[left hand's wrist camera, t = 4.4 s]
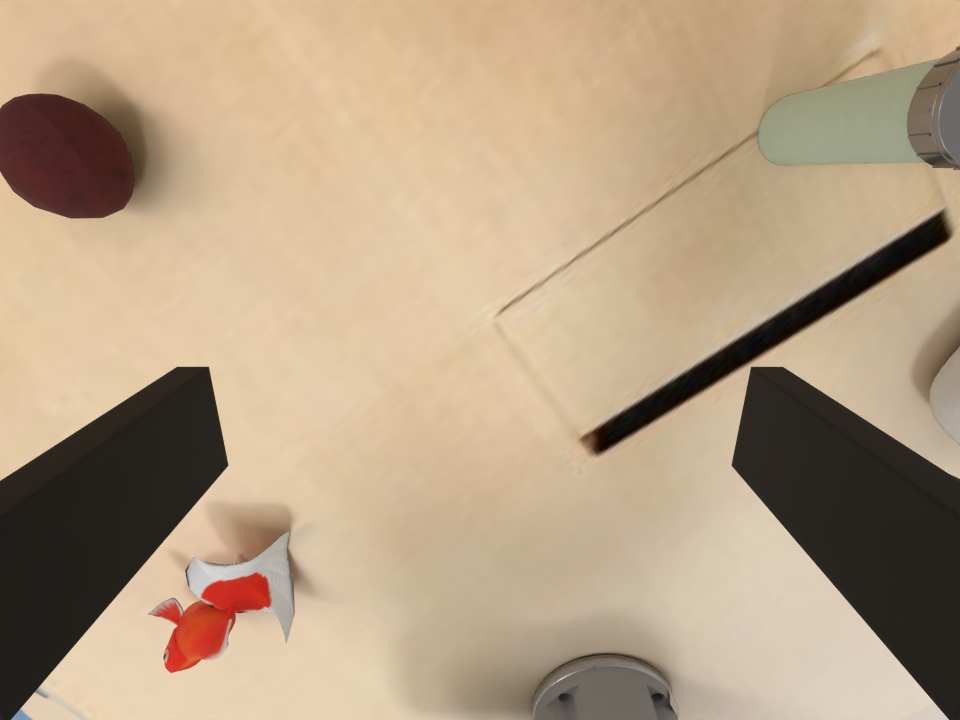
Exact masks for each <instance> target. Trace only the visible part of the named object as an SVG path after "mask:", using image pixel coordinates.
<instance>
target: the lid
mask: <svg viewBox="0 0 960 720" xmlns="http://www.w3.org/2000/svg"><path fill="white" fill-rule="evenodd" d="M907 115H908V117H907V133H908V136H907V137H908V138H909V141H910V144H911V146H912V148H913V150H914V151H915V153H916V154H917V155H916V156H917V157H920V158H921V159H922V160H923V161H925V162H927V163H928V164H930V165H933V166H932V167H933V168H954V169H953V170H960V46H958V47H956V50H954V51H952V52H951V53H949V54H948V55H946V56H945V57H943V58H942V59H941V60H940V61H939V62H937V63H935V64H934V65H933V67H932V68H931V69H930V70H929V72H928V73H927V74H926V75H925V77H924V78H923V79H922V81H921V82H920V84H919V86H917V88H916V91H915V93H914V96H913V98H912V100H911V103H910V107H909V111H908V113H907Z"/></svg>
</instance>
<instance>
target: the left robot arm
mask: <svg viewBox="0 0 960 720" xmlns="http://www.w3.org/2000/svg"><path fill="white" fill-rule="evenodd" d="M227 467H228V461H227V456H226V451H225V446H224V441H223V436H222V431H221V426H220V421H219V416H218V411H217V406H216V401H215V396H214V391H213V386H212V381H211V376H210V371H209V367H176V368H175V369H173V370H172V371H170V372H168V373H167V374H165V375H164V376H162V377H161V378H159V379H158V380H156V381H155V382H153V383H151V384H150V385H148V386H147V387H145V388H144V389H142V390H141V391H139V392H137V393H136V394H134V395H133V396H131V397H130V398H128V399H127V400H125V401H124V402H122V403H120V404H119V405H117V406H116V407H114V408H113V409H111V410H110V411H108V412H106V413H105V414H103V415H102V416H100V417H99V418H97V419H96V420H94V421H92V422H91V423H89V424H88V425H86V426H85V427H83V428H82V429H80V430H79V431H77V432H75V433H74V434H72V435H71V436H69V437H68V438H66V439H65V440H63V441H61V442H60V443H58V444H57V445H55V446H54V447H52V448H51V449H49V450H48V451H46V452H44V453H43V454H41V455H40V456H38V457H37V458H35V459H34V460H32V461H30V462H29V463H27V464H26V465H24V466H23V467H21V468H20V469H18V470H17V471H15V472H13V473H12V474H10V475H9V476H7V477H6V478H4V479H3V480H1V481H0V720H11V719H12V718H13V717H14V715H15V714H16V713H17V712H18V711H19V710H20V708H21V707H22V706H23V705H24V704H25V703H26V701H27V700H28V699H29V698H30V697H31V696H32V694H33V693H34V692H35V691H36V690H37V689H38V687H39V686H40V685H41V684H42V683H43V682H44V680H45V679H46V678H47V677H48V676H49V675H50V673H51V672H52V671H53V670H54V669H55V668H56V666H57V665H58V664H59V663H60V662H61V661H62V659H63V658H64V657H65V656H66V655H67V653H68V652H69V651H70V650H71V649H72V648H73V646H74V645H75V644H76V643H77V642H78V641H79V639H80V638H81V637H82V636H83V635H84V634H85V632H86V631H87V630H88V629H89V628H90V627H91V625H92V624H93V623H94V622H95V621H96V620H97V618H98V617H99V616H100V615H101V614H102V613H103V611H104V610H105V609H106V608H107V607H108V606H109V604H110V603H111V602H112V601H113V600H114V599H115V597H116V596H117V595H118V594H119V593H120V592H121V590H122V589H123V588H124V587H125V586H126V585H127V583H128V582H129V581H130V580H131V579H132V578H133V576H134V575H135V574H136V573H137V572H138V571H139V569H140V568H141V567H142V566H143V565H144V564H145V562H146V561H147V560H148V559H149V558H150V557H151V555H152V554H153V553H154V552H155V551H156V550H157V548H158V547H159V546H160V545H161V544H162V543H163V541H164V540H165V539H166V538H167V537H168V535H169V534H170V533H171V532H172V531H173V530H174V528H175V527H176V526H177V525H178V524H179V523H180V521H181V520H182V519H183V518H184V517H185V516H186V514H187V513H188V512H189V511H190V510H191V509H192V507H193V506H194V505H195V504H196V503H197V502H198V500H199V499H200V498H201V497H202V496H203V495H204V493H205V492H206V491H207V490H208V489H209V488H210V486H211V485H212V484H213V483H214V482H215V481H216V479H217V478H218V477H219V476H220V475H221V474H222V472H223V471H224V470H225V469H226V468H227ZM732 467H733V468H734V469H735V470H736V471H737V472H738V474H739V475H740V476H741V477H742V478H743V479H744V481H745V482H746V483H747V484H748V485H749V486H750V488H751V489H752V490H753V491H754V492H755V493H756V495H757V496H758V497H759V498H760V499H761V500H762V502H763V503H764V504H765V505H766V506H767V507H768V509H769V510H770V511H771V512H772V513H773V514H774V516H775V517H776V518H777V519H778V520H779V521H780V523H781V524H782V525H783V526H784V527H785V528H786V530H787V531H788V532H789V533H790V534H791V535H792V537H793V538H794V539H795V540H796V541H797V543H798V544H799V545H800V546H801V547H802V548H803V550H804V551H805V552H806V553H807V554H808V555H809V557H810V558H811V559H812V560H813V561H814V562H815V564H816V565H817V566H818V567H819V568H820V569H821V571H822V572H823V573H824V574H825V575H826V576H827V578H828V579H829V580H830V581H831V582H832V583H833V585H834V586H835V587H836V588H837V589H838V590H839V592H840V593H841V594H842V595H843V596H844V597H845V599H846V600H847V601H848V602H849V603H850V604H851V606H852V607H853V608H854V609H855V610H856V611H857V613H858V614H859V615H860V616H861V617H862V618H863V620H864V621H865V622H866V623H867V624H868V625H869V627H870V628H871V629H872V630H873V631H874V632H875V634H876V635H877V636H878V637H879V638H880V639H881V641H882V642H883V643H884V644H885V645H886V646H887V648H888V649H889V650H890V651H891V652H892V653H893V655H894V656H895V657H896V658H897V659H898V661H899V662H900V663H901V664H902V665H903V666H904V668H905V669H906V670H907V671H908V672H909V673H910V675H911V676H912V677H913V678H914V679H915V680H916V682H917V683H918V684H919V685H920V686H921V687H922V689H923V690H924V691H925V692H926V693H927V694H928V696H929V697H930V698H931V699H932V700H933V701H934V703H935V704H936V705H937V706H938V707H939V708H940V710H941V711H942V712H943V713H944V714H945V715H946V717H947V718H948V719H949V720H960V479H959V478H957V477H954V476H952V475H950V474H948V473H947V472H945V471H943V470H942V469H940V468H939V467H937V466H936V465H934V464H933V463H931V462H930V461H928V460H926V459H925V458H923V457H922V456H920V455H919V454H917V453H916V452H914V451H912V450H911V449H909V448H908V447H906V446H905V445H903V444H902V443H900V442H899V441H897V440H895V439H894V438H892V437H891V436H889V435H888V434H886V433H885V432H883V431H881V430H880V429H878V428H877V427H875V426H874V425H872V424H871V423H869V422H868V421H866V420H864V419H863V418H861V417H860V416H858V415H857V414H855V413H854V412H852V411H850V410H849V409H847V408H846V407H844V406H843V405H841V404H840V403H838V402H836V401H835V400H833V399H832V398H830V397H829V396H827V395H826V394H824V393H823V392H821V391H819V390H818V389H816V388H815V387H813V386H812V385H810V384H809V383H807V382H805V381H804V380H802V379H801V378H799V377H798V376H796V375H795V374H793V373H792V372H790V371H788V370H787V369H785V368H784V367H751V371H750V376H749V381H748V386H747V391H746V396H745V401H744V406H743V411H742V416H741V421H740V426H739V431H738V436H737V441H736V446H735V451H734V456H733V461H732ZM532 714H533V720H678V719H679V716H678V704H677V703H676V701H675V699H674V697H673V695H672V693H671V690H670V687H669V685H668V683H667V681H666V680H665V678H664V677H663V676H662V675H661V674H660V673H659V672H658V671H657V670H656V669H654V668H653V667H652V666H650V665H648V664H646V663H644V662H642V661H640V660H637V659H634V658H630V657H626V656H619V655H596V656H589V657H585V658H581V659H577V660H574V661H572V662H569V663H567V664H565V665H563V666H561V667H559V668H558V669H556V670H555V671H553V672H552V673H551V674H550V675H548V676H547V677H546V678H545V679H544V680H543V682H542V683H541V684H540V686H539V687H538V689H537V691H536V693H535V695H534V698H533V703H532Z"/></svg>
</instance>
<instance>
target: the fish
mask: <svg viewBox="0 0 960 720" xmlns="http://www.w3.org/2000/svg"><path fill="white" fill-rule="evenodd" d="M289 533H290V530H288V531H287V532H286V533H284V534H283V535H282V536H280V537H279V538H278V539H277V540H276V541H275V542H274V543H273V544H272V545H271V546H270V547H269V548H267V549H266V550H265V551H263V552H262V553H260V554H259V555H258V556H256V557H255V558H253V559H252V560H250V561H248V562H244V563H239V564H236V560H237V556H236V558H235V560H234V563H233V564H215V563H208V562H203V561H201V560H199V559H197V558H195V557H193V559H192V561H191V562H190V564H189V566H188V567H187V569H186V571H185V572H186V577H187V582H188V586H189V588H190V589H191V590H192V592H193V593H194V594H195V595H196V596H197V597H198V598H200V599H201V601H198V602H195V603H194V604H192V605H191V606H189V607H188V608H187V609H186V610H185V611H183V609H182V607H181V605H180V604H179V602H178V601H177V600H176V599H175V598H171V599H168V600H166V601H164V602H162V603H161V604H159V605H158V606H157V607H156V608H155V609H154V610H153V611H151V612H150V613H149V614H151V615H154V616H157V617H162V618H164V619H168V620H170V621H171V622H173V623H175V624H176V625H178V626H177V627H176V628H175V629H174V631H173V633H172V636H171V638H170V640H169V643H168V645H167V647H166V650H165V653H164V662H165V667H166V669H167V670H168V671H169V672H170V673H173V672H176V671H181V670H185V669H188V668H191V667H193V666H194V665H196V664H197V663H198V662H199V661H200V660H202V659H204V660H212V659H216V658H218V657H219V656H221V655H222V654H223V652H224V651H225V650H226V648H227V646H228V634H229V633H230V631H231V630H232V628H233V626H234V623H235V613H243V612H251V611H263V612H270V613H274V614H275V615H276V617H277V618H278V620H279V622H280V623H281V626H282V629H283V632H284V635H285V639H286V643H287V639H288V636H289V632H290V628H291V624H292V621H293V617H294V613H295V608H294V588H293V579H292V573H291V568H290V562H289V556H288V550H287V547H288V541H289Z"/></svg>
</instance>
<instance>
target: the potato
mask: <svg viewBox="0 0 960 720" xmlns="http://www.w3.org/2000/svg"><path fill="white" fill-rule="evenodd" d="M0 172H1V174H2V175H3V177H4V178H5V180H6V181H7V183H8V184H9V186H10V187H11V189H12V190H13V191H14V192H15V193H16V194H17V195H19V196H20V197H21V198H23V199H24V200H26V201H27V202H28V203H30V204H31V205H32V206H34V207H36V208H39V209H43V210H46V211H49V212H52V213H55V214H58V215H61V216H65V217H68V218H103V217H106V216H108V215H111V214H113V213H115V212H117V211H119V210H122V209H124V207H125V206H126V204H127V203H128V201H129V200H130V198H131V196H132V192H133V186H134V180H135V179H134V173H133V167H132V161H131V156H130V153H129V151H128V149H127V147H126V145H125V143H124V141H123V139H122V137H121V135H120V133H119V132H118V131H117V130H116V129H115V128H114V127H113V126H112V125H111V124H110V123H109V122H108V121H107V120H106V119H105V118H103V117H102V116H101V115H99V114H98V113H96V112H95V111H93V110H92V109H90V108H89V107H87V106H86V105H84V104H81V103H79V102H76V101H74V100H71V99H68V98H65V97H62V96H59V95H54V94H27V95H23V96H19V97H15V98H13V99H11V100H10V101H8V102H7V103H5V104H4V105H2V107H1V108H0Z"/></svg>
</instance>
